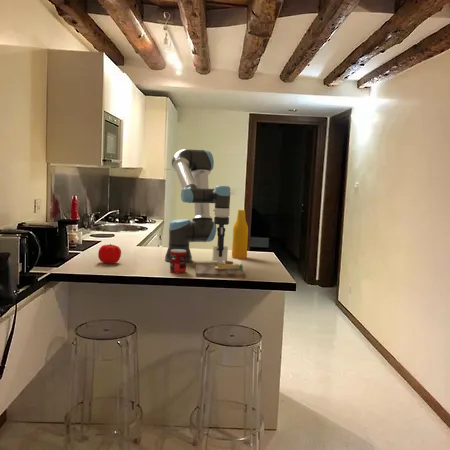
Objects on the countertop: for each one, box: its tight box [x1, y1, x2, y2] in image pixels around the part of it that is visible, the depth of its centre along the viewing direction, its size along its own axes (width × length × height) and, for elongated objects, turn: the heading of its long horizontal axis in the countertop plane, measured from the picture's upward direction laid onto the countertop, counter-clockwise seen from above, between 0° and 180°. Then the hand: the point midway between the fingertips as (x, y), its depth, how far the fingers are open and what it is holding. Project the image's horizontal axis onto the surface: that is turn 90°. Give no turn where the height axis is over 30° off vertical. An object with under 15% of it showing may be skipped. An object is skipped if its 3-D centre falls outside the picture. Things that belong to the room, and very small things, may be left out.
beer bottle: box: [231, 209, 249, 260], centre depth 284 cm, size 9×9×29 cm
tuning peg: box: [212, 245, 240, 269], centre depth 241 cm, size 5×14×11 cm, turn 103°
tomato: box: [97, 243, 122, 265], centre depth 251 cm, size 12×12×10 cm
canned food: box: [169, 249, 187, 274], centre depth 236 cm, size 8×8×11 cm
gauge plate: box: [195, 260, 246, 279], centre depth 240 cm, size 24×24×4 cm
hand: (219, 261), depth 240 cm, fingers open, 4 cm apart
